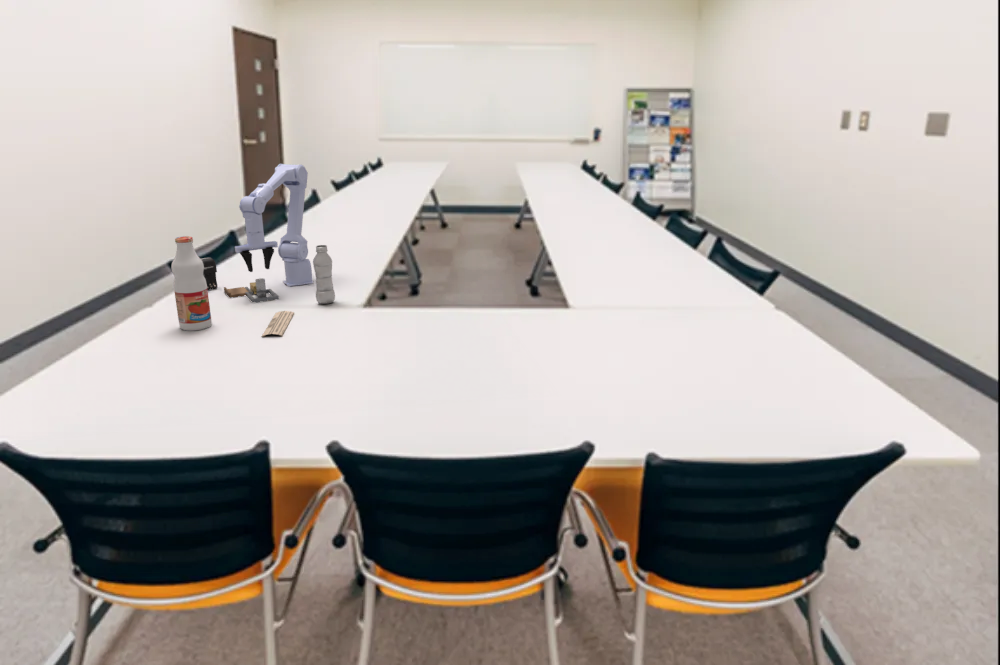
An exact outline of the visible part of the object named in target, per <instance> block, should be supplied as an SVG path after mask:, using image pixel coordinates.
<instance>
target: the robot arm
mask: <svg viewBox="0 0 1000 665" xmlns="http://www.w3.org/2000/svg"><path fill="white" fill-rule="evenodd" d="M308 172H309V171H308V170H307V169H306V167H305V166H304V165H303V164H284V163H279V164H278V165H277V166H275V168H274V173H273V174H272V176H271V177H270V178H269V179H268V180H267V182H266V183H258V184H257V187H256V188H255V189H254V190H253V191H251V192H250V194H249V195H245V196H243V197H242V198H241V199H240V202H239V206H238V208H239V210H240V212H241V214H242V217H243V219H244V222H245V223H244V225H245V233H246V242H247V243H246V244H242V245H235V246H234V252H235V253H237V254H240V256H241V257H242V259H243V260H244V263H245V265H246V267H247V270H248V272H250V273H253V269H254V268H253V253H251V251H257V250H261V251H262V254H263V259H264V260H263V262H264V264H263V265H264V268H265V269H266V270H270V266H271V261H272V257H273V255H274V253H275V248H277V252H278V256H279V258H280V259H281V261H283V263H284V274H285V276H284V277H285V280H282V283H284V284H285V285H286V286H287V287H296V286H302V285H303V286H304V285H311V284H313V283H314V281H313V273H312V272H313V270H312V264H311V260H310V259H309V258H307V257H308V254H309V247H308V240H307V239H306V238H305V237H304V236H303V235H302V233H303V219H304V208H305V197H306V189H307V187H308V184H307V183H308V176H309V173H308ZM281 185H283V186H284V187H285V188H287V189H288V191H290V193H289V202H288V204H289V205H288V215H287V226H286V233H285V234H284V235H283V236H281V238H280V241H279V245H278V241H275V240H273V241H265V233H264V232H265V231H264V223H263V222H264V220H263V214H262V213H264V212H265V210H266V205H267V203H268V202H269V201H270V200H271V199H272V198H273V197H274V194H275V193H274V191H275V190H276V189H278V188H279V187H280V186H281Z"/></svg>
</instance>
